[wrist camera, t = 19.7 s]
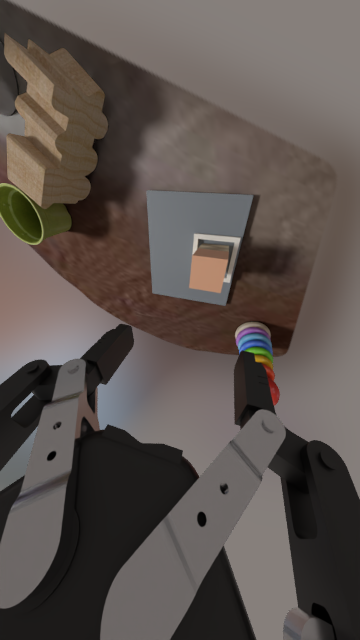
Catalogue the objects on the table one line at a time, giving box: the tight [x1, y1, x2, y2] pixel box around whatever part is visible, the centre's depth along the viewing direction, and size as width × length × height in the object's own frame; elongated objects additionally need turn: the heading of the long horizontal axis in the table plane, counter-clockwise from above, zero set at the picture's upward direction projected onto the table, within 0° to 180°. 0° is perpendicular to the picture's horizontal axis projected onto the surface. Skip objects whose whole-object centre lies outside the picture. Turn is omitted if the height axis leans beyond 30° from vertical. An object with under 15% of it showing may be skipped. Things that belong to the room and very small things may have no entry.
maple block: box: [199, 243, 229, 252], centre depth 29 cm, size 5×5×5 cm
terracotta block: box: [189, 248, 229, 293], centre depth 25 cm, size 5×5×5 cm
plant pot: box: [0, 183, 72, 245], centre depth 32 cm, size 9×9×9 cm
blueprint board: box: [147, 190, 253, 306], centre depth 32 cm, size 18×20×2 cm
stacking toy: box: [235, 322, 280, 405], centre depth 32 cm, size 8×8×19 cm
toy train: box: [4, 34, 108, 209], centre depth 24 cm, size 6×17×10 cm, turn 140°
